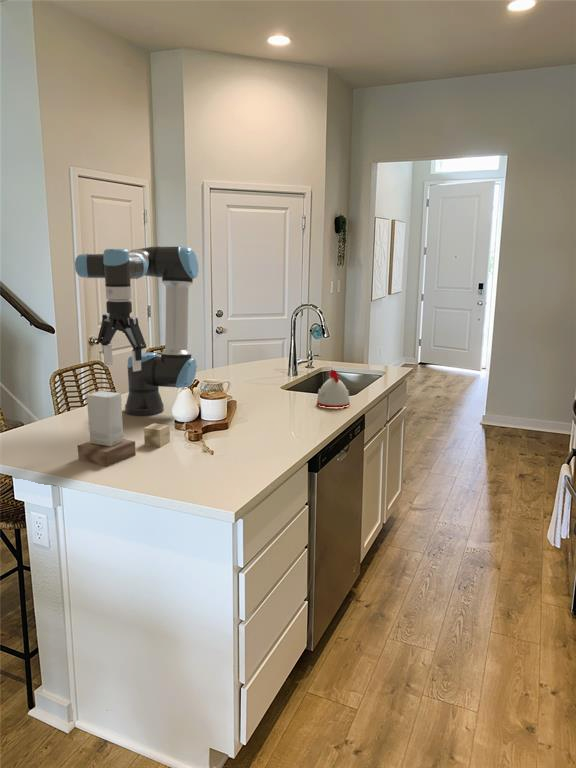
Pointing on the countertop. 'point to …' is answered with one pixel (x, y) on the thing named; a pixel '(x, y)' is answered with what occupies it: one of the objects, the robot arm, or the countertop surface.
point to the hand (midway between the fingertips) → (122, 368)
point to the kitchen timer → (333, 392)
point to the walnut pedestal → (106, 452)
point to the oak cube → (156, 435)
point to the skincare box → (105, 418)
